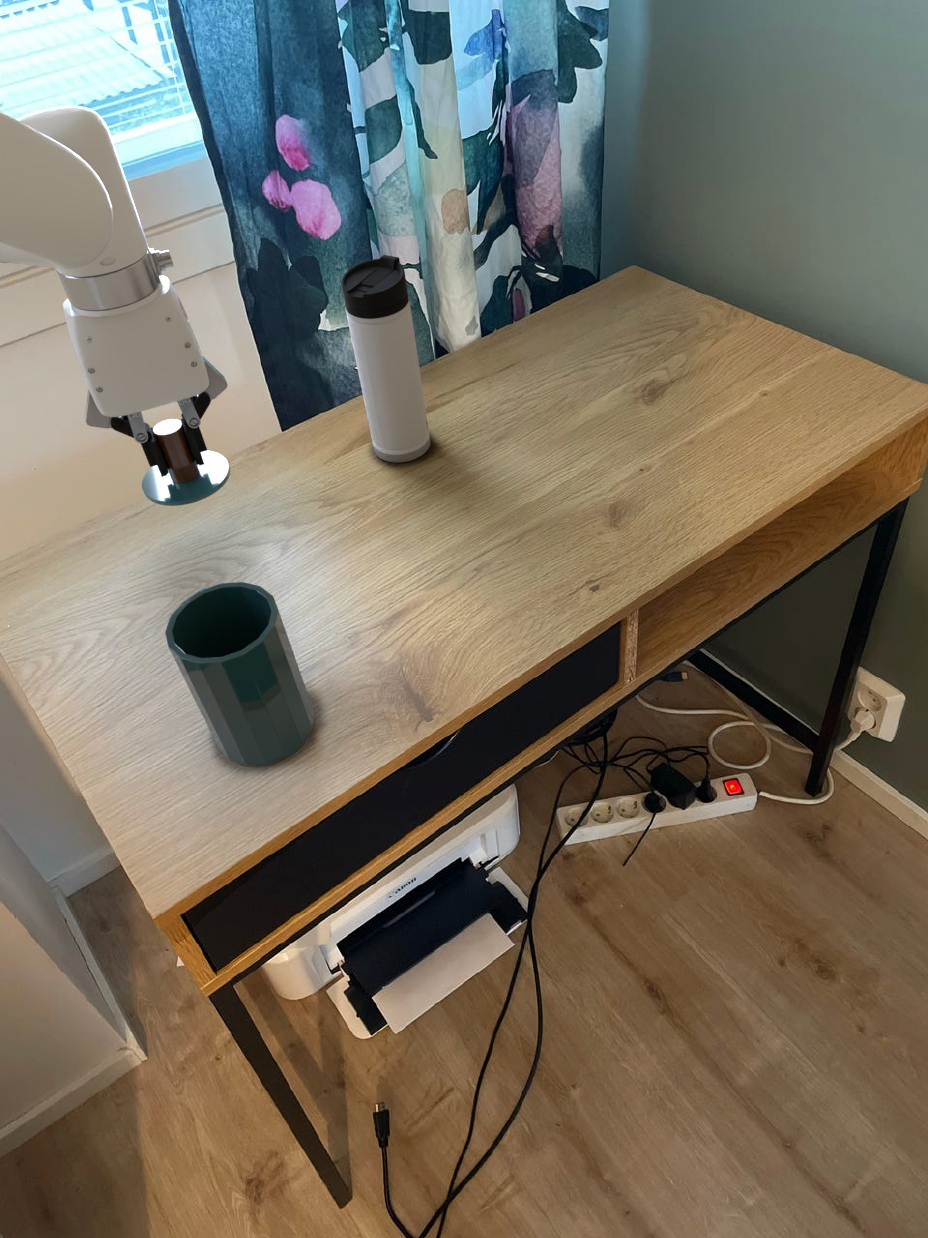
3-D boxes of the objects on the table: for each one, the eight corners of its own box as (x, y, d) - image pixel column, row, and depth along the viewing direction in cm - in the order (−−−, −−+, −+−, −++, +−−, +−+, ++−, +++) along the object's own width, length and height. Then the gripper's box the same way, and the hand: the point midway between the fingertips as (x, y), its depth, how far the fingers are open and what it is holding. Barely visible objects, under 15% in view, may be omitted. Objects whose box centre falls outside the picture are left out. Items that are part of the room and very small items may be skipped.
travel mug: (443, 436, 99) (419, 259, 85) (409, 469, 96) (378, 290, 81) (397, 423, 102) (366, 249, 88) (363, 455, 98) (325, 278, 84)
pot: (227, 781, 70) (175, 678, 61) (209, 708, 75) (158, 604, 66) (326, 744, 71) (288, 638, 62) (300, 675, 76) (263, 569, 68)
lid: (151, 521, 85) (126, 463, 80) (140, 473, 91) (116, 417, 86) (240, 494, 87) (220, 436, 82) (223, 449, 92) (204, 393, 88)
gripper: (200, 240, 78) (254, 421, 91) (8, 286, 75) (93, 467, 88) (216, 271, 73) (271, 459, 86) (11, 323, 70) (100, 509, 83)
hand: (180, 461), depth 87 cm, fingers closed on lid, 2 cm apart
